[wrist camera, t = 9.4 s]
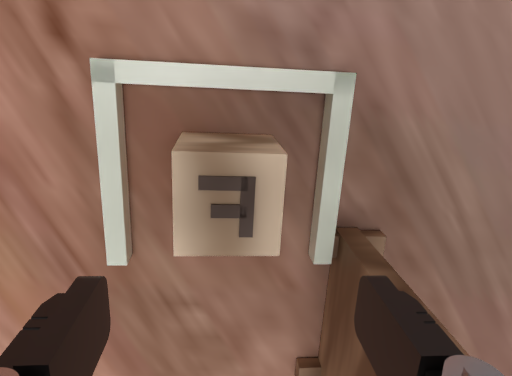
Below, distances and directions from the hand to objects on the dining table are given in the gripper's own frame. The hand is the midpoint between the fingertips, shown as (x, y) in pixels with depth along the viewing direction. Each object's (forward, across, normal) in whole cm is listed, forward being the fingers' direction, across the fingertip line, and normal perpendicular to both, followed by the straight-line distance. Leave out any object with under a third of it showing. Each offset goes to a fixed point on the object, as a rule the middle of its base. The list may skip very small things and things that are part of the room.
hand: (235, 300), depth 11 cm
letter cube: (+13, 0, -1) cm, 13 cm away
